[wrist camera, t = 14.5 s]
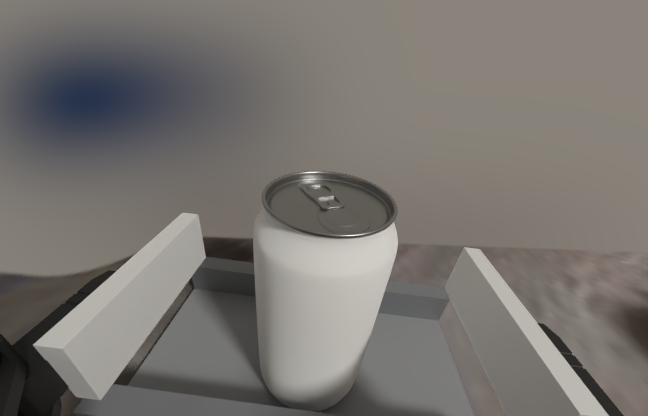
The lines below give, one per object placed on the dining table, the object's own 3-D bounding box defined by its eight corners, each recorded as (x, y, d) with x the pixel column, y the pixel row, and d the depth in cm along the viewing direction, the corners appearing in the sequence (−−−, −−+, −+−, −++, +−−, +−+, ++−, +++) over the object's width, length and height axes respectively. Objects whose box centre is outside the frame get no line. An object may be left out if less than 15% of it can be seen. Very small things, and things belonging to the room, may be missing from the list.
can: (273, 440, 12) (272, 263, 6) (251, 328, 17) (239, 171, 11) (377, 387, 15) (445, 226, 9) (332, 303, 20) (356, 164, 14)
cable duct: (96, 439, 12) (71, 412, 11) (202, 281, 21) (197, 255, 20) (498, 495, 12) (530, 476, 10) (431, 312, 21) (443, 287, 19)
